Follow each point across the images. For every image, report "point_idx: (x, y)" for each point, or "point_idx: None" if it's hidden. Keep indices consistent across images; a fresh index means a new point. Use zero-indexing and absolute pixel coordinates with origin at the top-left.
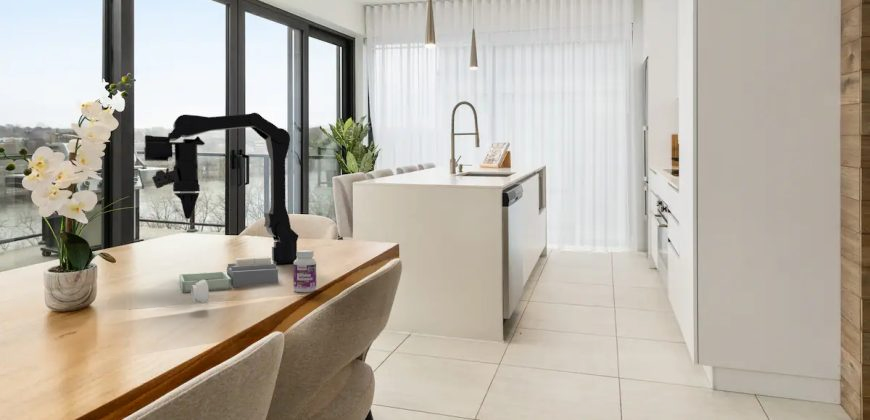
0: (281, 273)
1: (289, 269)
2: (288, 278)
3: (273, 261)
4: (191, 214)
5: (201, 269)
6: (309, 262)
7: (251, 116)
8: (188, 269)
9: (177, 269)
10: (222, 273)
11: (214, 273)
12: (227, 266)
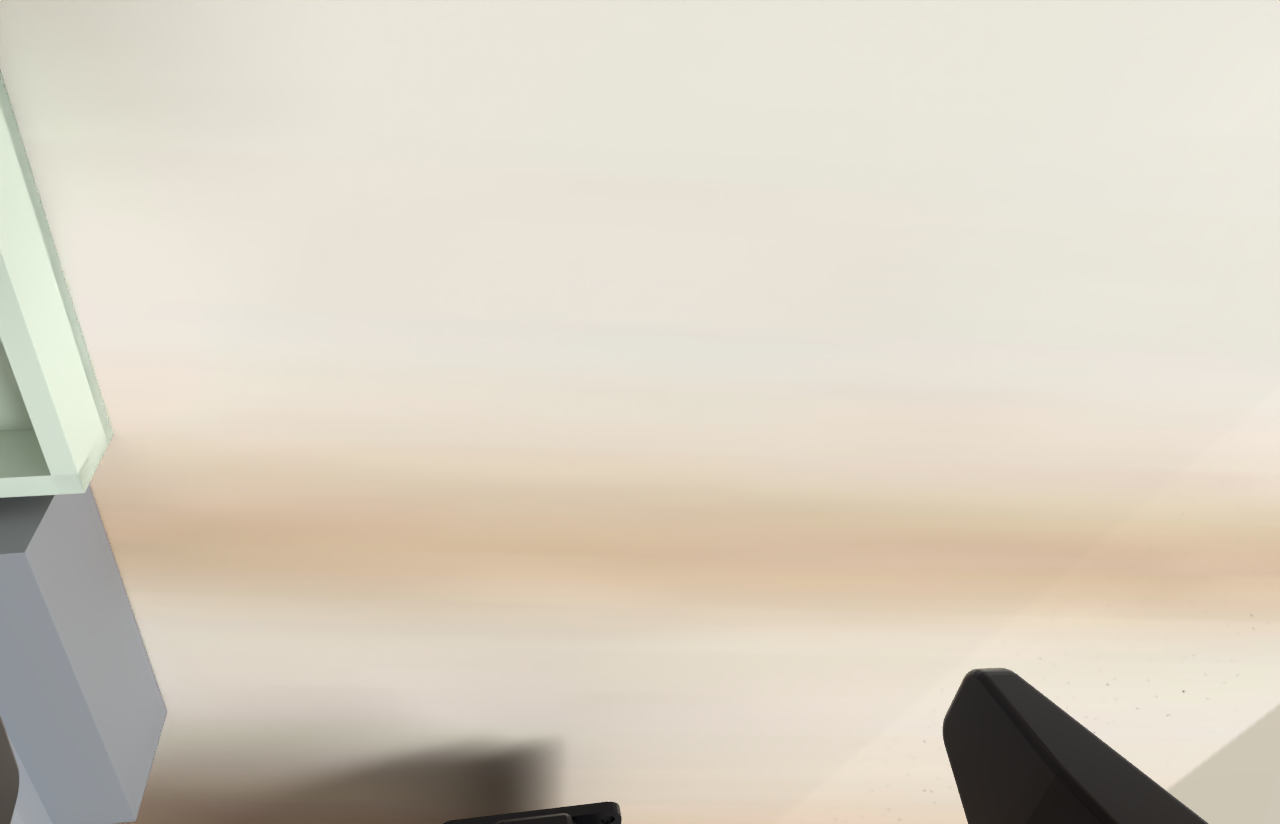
0: (417, 773)
1: None
2: None
3: (571, 808)
4: (967, 806)
5: (1068, 290)
6: None
7: None
8: (1170, 175)
9: (1268, 65)
10: (45, 466)
11: (29, 402)
12: (7, 557)
